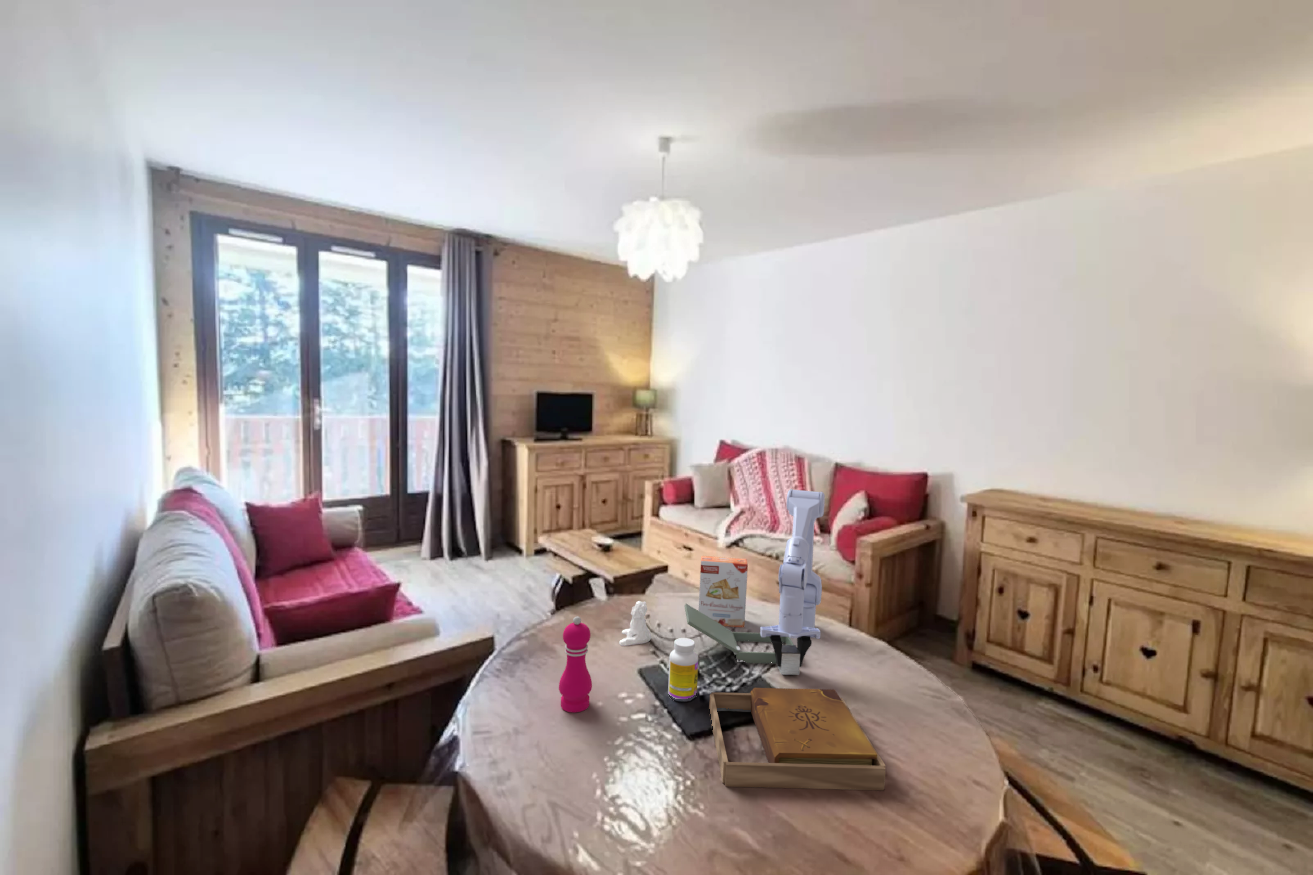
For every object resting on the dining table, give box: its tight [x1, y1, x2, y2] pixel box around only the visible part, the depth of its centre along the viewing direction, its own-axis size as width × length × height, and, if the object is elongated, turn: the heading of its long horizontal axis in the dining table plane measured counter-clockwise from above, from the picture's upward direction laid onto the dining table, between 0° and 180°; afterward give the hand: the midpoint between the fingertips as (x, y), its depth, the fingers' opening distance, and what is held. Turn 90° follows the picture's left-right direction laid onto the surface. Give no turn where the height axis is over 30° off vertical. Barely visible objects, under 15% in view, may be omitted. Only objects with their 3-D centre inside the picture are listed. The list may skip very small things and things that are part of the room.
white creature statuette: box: [618, 600, 652, 647], centre depth 159 cm, size 10×9×12 cm
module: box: [776, 644, 801, 676], centre depth 143 cm, size 4×4×6 cm
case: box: [684, 603, 795, 665], centre depth 154 cm, size 13×29×11 cm, turn 91°
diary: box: [749, 687, 878, 766], centre depth 115 cm, size 23×19×6 cm
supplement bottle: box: [667, 637, 699, 699], centre depth 131 cm, size 7×7×13 cm
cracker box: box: [698, 555, 749, 628], centre depth 172 cm, size 14×6×21 cm, turn 83°
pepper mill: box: [558, 616, 593, 713], centre depth 126 cm, size 7×7×20 cm
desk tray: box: [708, 691, 887, 791], centre depth 114 cm, size 25×29×4 cm
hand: (788, 665), depth 143 cm, fingers closed on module, 4 cm apart
